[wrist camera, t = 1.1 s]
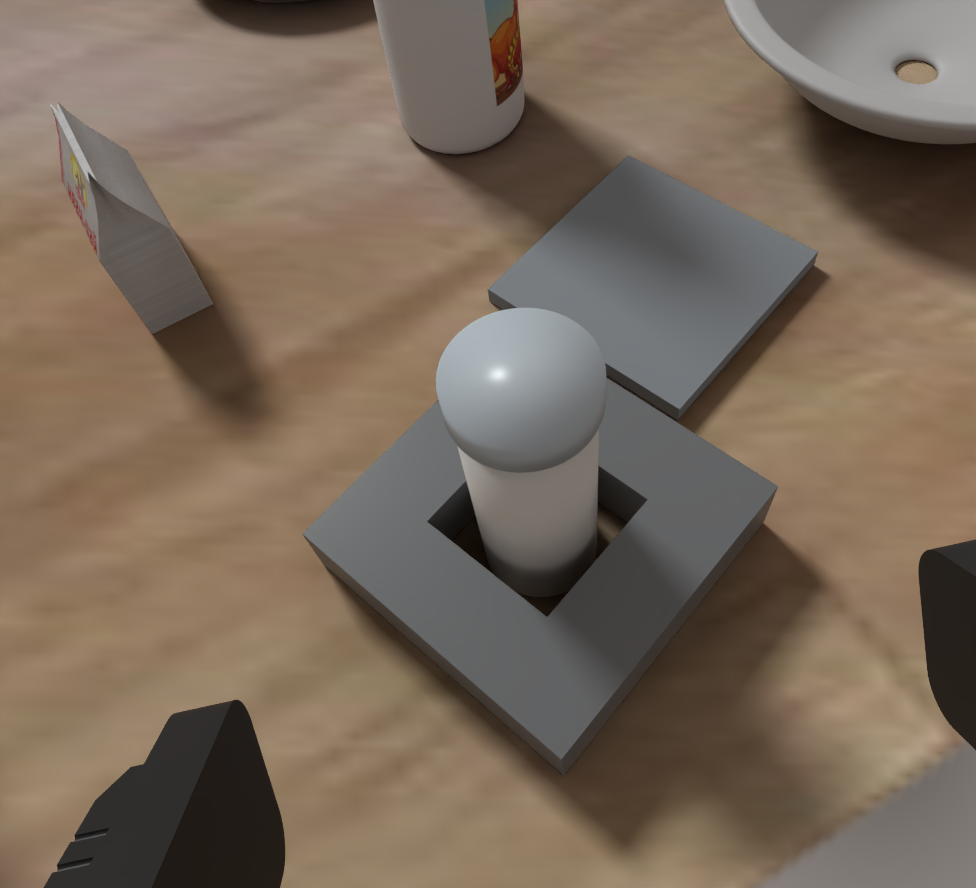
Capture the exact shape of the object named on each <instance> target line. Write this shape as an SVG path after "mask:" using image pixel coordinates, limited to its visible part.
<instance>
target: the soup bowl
mask: <svg viewBox="0 0 976 888" xmlns="http://www.w3.org/2000/svg"><path fill="white" fill-rule="evenodd" d="M724 4H725V7H726V9H727V12H728V14H729V17H730V19H731V21H732V23H733V24H734V26H735V28H736V30H737V31H738V33H739V34H740V35H741V37H742V38H743V39H744V41H745V42H746V43H747V45H748V46H749V47H750V48H751V49H752V50H753V51H754V52H755V53H756V54H757V55H758V56H759V57H760V58H761V59H762V60H763V61H765V62H766V63H767V64H768V65H769V66H771V67H772V68H773V69H774V70H776V71H777V72H778V73H780V74H781V76H782V77H783V78H784V79H785V80H786V81H787V82H788V83H789V84H790V85H791V86H792V87H793V88H794V89H795V90H796V91H797V92H799V93H800V94H801V95H802V96H803V97H804V98H806V99H807V100H808V101H810V102H811V103H812V104H814V105H815V106H817V107H818V108H820V109H821V110H823V111H824V112H826V113H828V114H830V115H831V116H833V117H835V118H837V119H839V120H841V121H843V122H845V123H847V124H850V125H852V126H855V127H857V128H860V129H862V130H865V131H868V132H871V133H874V134H878V135H881V136H885V137H889V138H893V139H899V140H904V141H910V142H919V143H929V144H969V143H976V0H724ZM907 60H919V61H924V62H927V63H929V64H931V65H932V66H934V67H935V69H936V70H937V73H938V76H937V79H936V80H934V81H932V82H930V83H926V84H912V83H908V82H905V81H903V80H902V79H900V78H899V77H898V76H897V75H896V73H895V71H894V70H895V68H896V66H897V65H898V64H899V63H901V62H903V61H907Z"/></svg>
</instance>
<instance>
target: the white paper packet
mask: <svg viewBox="0 0 976 888" xmlns="http://www.w3.org/2000/svg"><path fill="white" fill-rule="evenodd" d="M50 105H51V104H50ZM57 107H58V111H57V110H56V109H55V108H54V107H53V106H52V105H51V108H52V111H53V113H54V116H55V120H56V126H57V131H58V136H59V148H60V161H61V174H62V182H63V184H64V186H65V188H66V190H67V192H68V194H69V197H70V199H71V201H72V203H73V205H74V207H75V209H76V212H77V214H78V216H79V218H80V220H81V222H82V224H83V227H84V229H85V231H86V233H87V235H88V237H89V239H90V242H91V244H92V246H93V248H94V250H95V252H96V254H97V257H98V259H99V261H100V262H101V264H102V265H103V267H104V268H105V269H106V271H107V272H108V274H109V275H110V277H111V278H112V279H113V281H114V282H115V284H116V285H117V286H118V288H119V289H120V291H121V292H122V293H123V295H124V296H125V298H126V299H127V300H128V302H129V303H130V305H131V306H132V307H133V309H134V310H135V312H136V313H137V314H138V316H139V317H140V319H141V320H142V321H143V323H144V324H145V326H146V327H147V328H148V330H149V331H150V333H151V334H154V333H156V332H158V331H160V330H162V329H164V328H166V327H168V326H170V325H172V324H174V323H176V322H178V321H180V320H182V319H184V318H186V317H188V316H190V315H192V314H194V313H196V312H198V311H200V310H202V309H204V308H206V307H208V306H210V305H212V304H214V303H213V302H212V300H211V298H210V296H209V294H208V292H207V291H206V289H205V287H204V285H203V283H202V281H201V280H200V278H199V276H198V274H197V272H196V270H195V269H194V267H193V265H192V263H191V261H190V259H189V258H188V256H187V254H186V252H185V250H184V248H183V247H182V245H181V243H180V241H179V239H178V237H177V235H176V234H175V232H174V230H173V228H172V226H171V225H170V223H169V221H168V220H167V218H166V216H165V214H164V213H163V211H162V209H161V208H160V206H159V204H158V202H157V201H156V199H155V197H154V195H153V194H152V192H151V190H150V189H149V187H148V185H147V183H146V182H145V180H144V178H143V176H142V175H141V173H140V171H139V170H138V168H137V166H136V164H135V163H134V161H133V159H132V157H131V156H130V154H129V152H128V151H127V150H125V149H124V148H122V147H121V146H119V145H117V144H116V143H114V142H113V141H111V140H109V139H108V138H106V137H105V136H103V135H101V134H100V133H98V132H97V131H95V130H93V129H92V128H90V127H89V126H87V125H86V124H84V123H83V122H81V121H80V120H79V119H77V118H76V117H75V116H73V115H72V114H71V113H69V112H68V111H67V110H66V109H65V108H64V107H63V106H62V105H61V104H60V103H59V102H58V101H57Z"/></svg>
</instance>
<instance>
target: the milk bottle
mask: <svg viewBox="0 0 976 888" xmlns="http://www.w3.org/2000/svg"><path fill="white" fill-rule="evenodd" d="M373 2H374V6H375V11H376V15H377V20H378V25H379V29H380V34H381V38H382V42H383V47H384V51H385V56H386V60H387V64H388V69H389V73H390V78H391V82H392V86H393V91H394V95H395V99H396V104H397V108H398V111H399V115H400V119H401V122H402V125H403V127H404V129H405V130H406V132H407V133H408V134H409V135H410V136H411V137H412V138H413V139H414V141H415V142H417V143H418V144H420V145H421V146H423V147H424V148H427V149H430V150H432V151H435V152H440V153H444V154H464V153H471V152H476V151H480V150H483V149H485V148H488V147H491V146H493V145H494V144H496V143H498V142H500V141H502V140H503V139H504V138H505V137H507V136H508V135H509V134H510V133H511V132H512V131H513V129H514V128H515V127H516V125H517V123H518V122H519V120H520V118H521V116H522V113H523V110H524V102H525V100H524V80H523V66H522V53H521V40H520V27H519V14H518V2H517V0H373Z"/></svg>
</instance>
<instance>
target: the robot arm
mask: <svg viewBox="0 0 976 888" xmlns="http://www.w3.org/2000/svg"><path fill="white" fill-rule="evenodd" d="M919 585H920V596H921V606H922V617H923V628H924V639H925V650H926V661H927V671H928V677H929V682H930V685H931V689H932V692H933V694H934V697H935V699H936V702H937V704H938V706H939V708H940V710H941V712H942V713H943V715H944V717H945V718H946V720H947V721H948V722H949V724H950V725H951V726H952V727H953V728H954V729H955V730H956V731H957V732H958V733H959V734H960V735H961V736H962V737H963V738H964V739H965V740H966V741H967V742H968V743H969V744H970V745H971V746H972V747H973V748H974V749H975V750H976V540H972V541H967V542H963V543H958V544H954V545H949V546H944V547H940V548H935V549H931V550H927V551H925V552H924V553H923V554H922V556H921V558H920V562H919ZM284 865H285V838H284V830H283V823H282V819H281V814H280V811H279V807H278V804H277V801H276V798H275V795H274V791H273V788H272V785H271V782H270V779H269V776H268V772H267V769H266V766H265V763H264V760H263V756H262V753H261V750H260V747H259V744H258V740H257V737H256V734H255V731H254V728H253V724H252V721H251V718H250V716H249V713H248V711H247V709H246V707H245V706H244V704H243V703H242V702H241V701H239V700H233V701H229V702H224V703H220V704H215V705H210V706H206V707H201V708H197V709H192V710H188V711H183V712H178V713H175V714H173V715H171V716H170V718H169V719H168V721H167V723H166V724H165V726H164V728H163V730H162V732H161V734H160V736H159V737H158V739H157V741H156V743H155V745H154V747H153V748H152V750H151V752H150V754H149V756H148V758H147V759H146V761H145V763H144V764H143V765H138V766H134V767H130V768H129V769H128V770H127V771H126V772H125V773H124V774H123V775H122V776H121V777H120V778H119V779H118V780H117V781H116V782H114V783H113V784H112V785H111V786H110V787H109V788H108V789H107V790H106V791H105V792H104V793H103V794H102V795H101V796H100V797H98V798H97V799H96V800H95V802H94V804H93V805H92V807H91V809H90V810H89V812H88V814H87V815H86V817H85V819H84V820H83V822H82V824H81V825H80V827H79V829H78V830H77V832H76V834H75V841H74V842H70V844H69V846H68V847H67V849H66V851H65V852H64V854H63V856H62V857H61V859H60V861H59V863H58V864H57V867H58V870H57V872H54V873H52V874H51V876H50V878H49V879H48V881H47V883H46V884H45V886H44V888H280V885H281V881H282V877H283V872H284Z"/></svg>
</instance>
